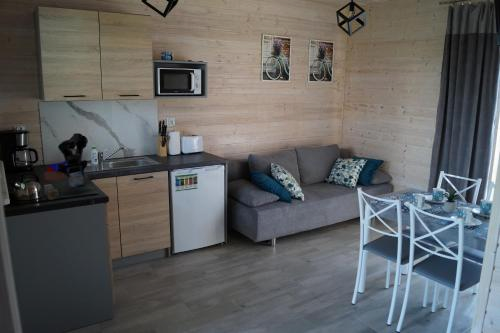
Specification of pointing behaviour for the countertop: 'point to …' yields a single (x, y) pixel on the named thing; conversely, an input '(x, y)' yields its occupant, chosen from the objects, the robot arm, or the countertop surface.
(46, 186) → the terracotta block
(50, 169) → the house
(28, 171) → the countertop surface
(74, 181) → the medicine box
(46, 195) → the dark grey cylinder
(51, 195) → the walnut block
